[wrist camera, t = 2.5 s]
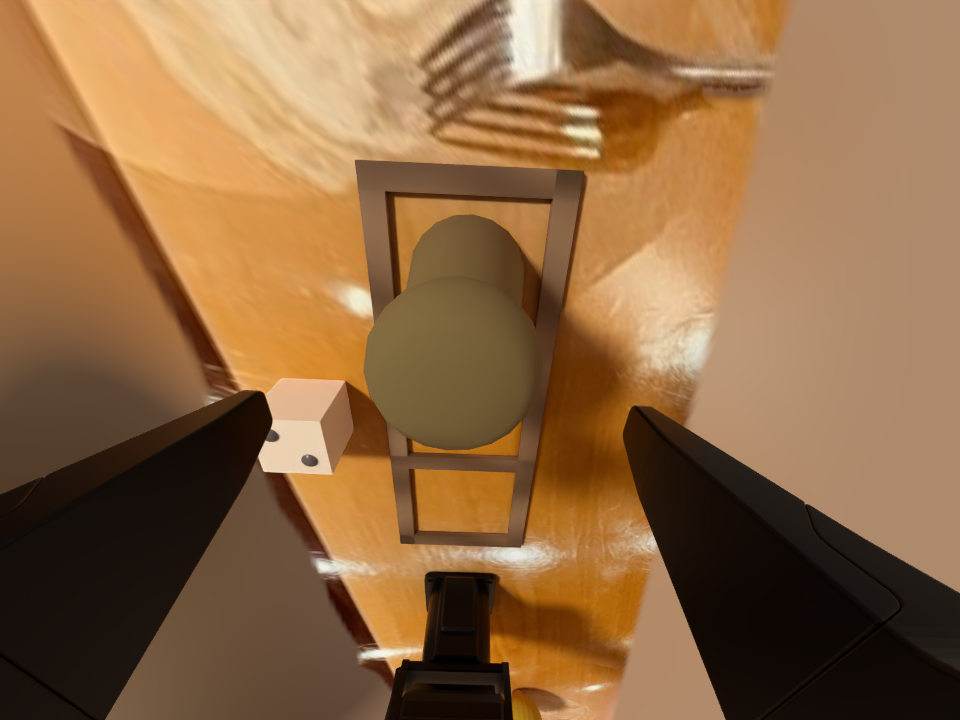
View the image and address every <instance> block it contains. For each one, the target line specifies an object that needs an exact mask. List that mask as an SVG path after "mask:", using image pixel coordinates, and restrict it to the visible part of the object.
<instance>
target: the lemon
mask: <svg viewBox="0 0 960 720" xmlns="http://www.w3.org/2000/svg"><path fill="white" fill-rule="evenodd" d="M511 699H512V711H513V720H542V718H541V715H540V712H539V710H538V708H537V706H536V705H535V703H534V702H533V701H532V700H531V699H530V698H528V697H526V696H525V695H524V694H523V692H522V691H521V690H516V691H515V693H514V695H513V696H512V697H511Z"/></svg>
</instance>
